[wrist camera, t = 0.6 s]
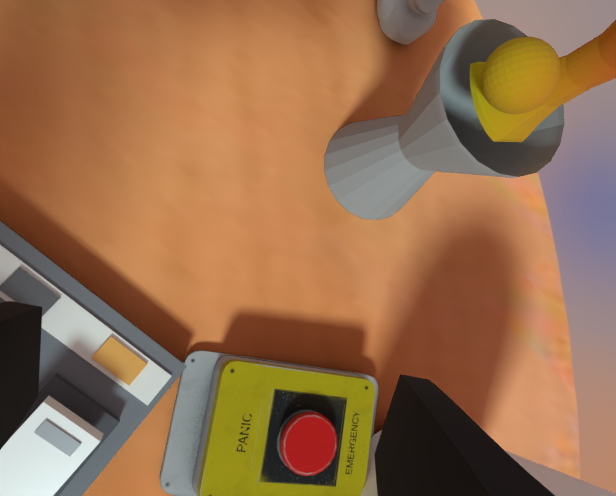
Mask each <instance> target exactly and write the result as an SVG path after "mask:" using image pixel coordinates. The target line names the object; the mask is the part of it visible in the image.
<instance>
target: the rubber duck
mask: <svg viewBox="0 0 616 496" xmlns="http://www.w3.org/2000/svg"><path fill="white" fill-rule="evenodd" d="M443 1H444V0H378V1H377V16H378V19H379V25H380V28H381V30H382V31H383V33H384V34H385V35H386V36H387V37H389V38H390V39H391V40H393V41H395V42H398V43H400V44H403V45H407V44H410V43H412V42H413V41H415V40H416V39H417V38H419V37H420V36H422V35H424V34H426V33H427V32H428V31H429V30H430V28H431V27H432V26H433V25H434V23H435V21H436V15H437V8H438V7H439V6H440V5H441V4H442V2H443Z"/></svg>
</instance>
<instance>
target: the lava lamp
mask: <svg viewBox="0 0 616 496" xmlns="http://www.w3.org/2000/svg"><path fill="white" fill-rule="evenodd" d="M614 78H616V20H615V21H614V22H613V23H612V24H611V25H610V26H609V28H607V29H606V30H605V31H604V32H603V33H602V34H601V35H599V36H598V37H596V38H594V39H593V40H591V41H589V42H588V43H586V44H585V45H583V46H582V47H580V48H578V49H576V50H575V51H573V52H572V53H570V54H569V55H566V56H563V57H560V58H559V57H558V55H557V53H556V52H555V50H554V49H553V48H552V47H551V46H550V45H549V44H548V43H546V42H545V41H543V40H541V39H538V38H534V37H528V36H526V35H525V34H524V33H522V32H521V31H520V30H518V29H517V28H515V27H514V26H512V25H509V24H506V23H503V22H501V21H498V20H495V19H491V20H475V21H473V22H471V23H469V24H467V25H465V26H463V27H461V28H459V29H458V30H457V31H456V33H455V34H454V35H453V36H452V38H451V39H450V40H449V42H448V43H447V44H446V46H445V47H444V48H443V50H442V51H441V53H440V54H439V56H438V58H437V60H436V62H435V63H434V65H433V67H432V69H431V71H430V72H429V74H428V76H427V78H426V80H425V81H424V83H423V85H422V87H421V89H420V90H419V92H418V94H417V96H416V98H415V99H414V101H413V103H412V105H411V107H410V108H409V110H408V112H407V114H405V115H399V116H393V117H386V118H380V119H373V120H367V121H361V122H354V123H350V124H348V125H346V126H344V127H343V128H341V129H339V130H338V131H337V132H336V134H335V135H334V136H333V137H332V139H331V140H330V141H329V144H328V147H327V150H326V153H325V166H324V171H325V175H326V179H327V182H328V186H329V188H330V190H331V192H332V193H333V195H334V197H335V198H336V200H337V201H338V202H339V203H340V204H341V205H342V206H343V207H344V208H345V209H346V210H347V211H348V212H350V213H352V214H354V215H356V216H358V217H361V218H363V219H371V220H379V219H383V218H387V217H390V216H392V215H393V214H394V213H396V212H397V211H399V210H400V209H401V208H402V207H403V206H404V205H405V204H406V203H407V202H408V200H409V199H410V198H411V197H412V196H413V195H414V194H415V193H416V192H417V191H418V190H419V189H420V187H421V186H422V185H423V184H424V183H425V182H426V181H427V180H428V179H429V178H430V177H431V175H432V174H433V173H434V172H435V171H437V172H449V173H461V174H473V175H485V176H497V177H509V178H514V177H520V176H524V175H528V174H532V173H536V172H537V171H539V170H540V169H541V168H542V167H544V166H545V165H546V164H547V163H549V162H550V161H551V159H552V157H553V156H554V154H555V152H556V150H557V149H558V147H559V145H560V142H561V137H562V132H563V127H564V109H563V104H564V103H566V102H567V101H569V100H571V99H573V98H574V97H576V96H578V95H580V94H581V93H583V92H585V91H587V90H589V89H590V88H592V87H595V86H597V85H600V84H602V83H605V82H607V81H610V80H612V79H614Z"/></svg>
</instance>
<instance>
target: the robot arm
mask: <svg viewBox="0 0 616 496" xmlns="http://www.w3.org/2000/svg"><path fill="white" fill-rule="evenodd" d="M41 327H42V307H40V306H35V305H30V304H24V303H19V302H14V301H7V302H1V303H0V450H1V448H2V447H3V446H4V445H5V444H6V442H7V441H8V440H9V438H10V437H11V435H12V434H13V433H14V431H15V430H16V428H17V427H18V425H19V424H20V423H21V421H22V420H23V418H24V417H25V415H26V414H27V412H28V411H29V409H30V408H31V406H32V404H33V403H34V401H35V400H36V398H37V397H38V391H39V370H40V348H41ZM374 456H375V470H376V483H377V493H378V496H555V495H554V494H553V493H552V492H550V491H549V490H548V489H547V488H546V487H545V486H543V485H542V484H541V483H540V482H539V481H538V480H537V479H535V478H534V477H533V476H532V475H531V474H530V473H528V472H527V471H526V470H525V469H524V468H523V467H522V466H521V465H520V464H519V463H517V462H516V461H515V460H514V459H513V458H512V457H511V456H510V455H509V454H508V453H507V452H505V451H504V450H503V449H502V448H501V447H500V446H499V445H498V444H497V443H496V442H495V441H494V440H493V439H492V438H491V437H490V436H489V435H487V434H486V433H485V432H484V431H483V430H482V429H481V428H480V427H479V426H478V425H477V424H476V423H475V422H474V421H473V420H472V419H471V418H470V417H469V416H468V415H467V414H466V413H465V412H464V411H463V410H462V409H461V408H460V407H459V406H457V405H456V404H455V403H454V402H453V401H452V400H451V399H450V398H449V397H448V396H447V395H446V394H445V393H444V392H443V391H442V390H440V389H439V388H438V387H437V386H436V385H435V384H433V383H432V382H431V381H430V380H427V379H422V378H417V377H411V376H406V375H401V374H400V377H399V380H398V383H397V386H396V389H395V392H394V395H393V398H392V401H391V404H390V408H389V411H388V414H387V417H386V420H385V423H384V426H383V429H382V432H381V435H380V438H379V441H378V444H377V448H376V451H375V454H374Z"/></svg>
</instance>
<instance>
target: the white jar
mask: <svg viewBox="0 0 616 496" xmlns="http://www.w3.org/2000/svg"><path fill="white" fill-rule="evenodd" d="M381 432H382V430H380V431H379V432H377V433H376V434H374V435H373V437H372V438H371V439H370V447H369V456H368V464H367V473H366V481H365V486H364V488H363V490H362V492H361V496H378V493H377V483H376V470H375V456H374V454H375V451H376V448H377V444H378V441H379V438H380V435H381ZM504 451H505V450H504ZM505 452H507V453H508V454H509V455H510V456H511V457H512V458H513V459H514V460H515V461H516V462H517V463H519V464H520V465H521V466H522V467H523V468H524V469H525V470H526V471H527V472H528V473H530V474H531V475H532V476H533V477H534V478H535V479H537V480H538V481H539V482H540V483H541V484H542V485H543V486H545V487H546V488H547V489H548V490H549V491H550V492H552V493H553V494H554V495H555V496H616V494H615V493H613V492H610V491H608V490H605V489H602V488H600V487H597V486H595V485H592V484H590V483H587V482H584V481H582V480H579V479H577V478H574V477H572V476H569V475H567V474H564V473H561V472H559V471H556V470H554V469H551V468H549V467H546V466H543V465H541V464H538V463H536V462H533V461H531V460H528V459H525V458H523V457H520V456H518V455H515V454H513V453H510V452H508V451H505Z"/></svg>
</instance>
